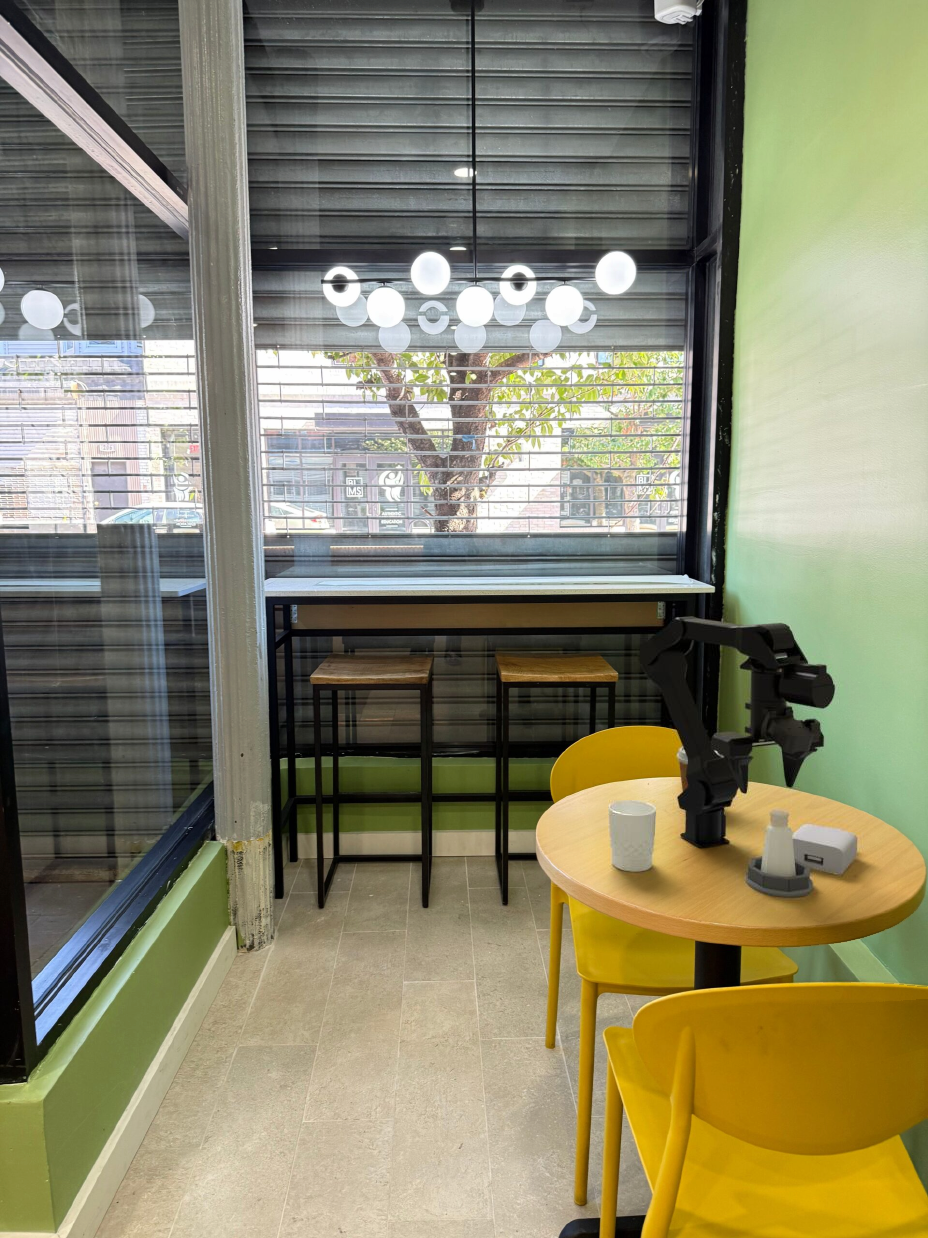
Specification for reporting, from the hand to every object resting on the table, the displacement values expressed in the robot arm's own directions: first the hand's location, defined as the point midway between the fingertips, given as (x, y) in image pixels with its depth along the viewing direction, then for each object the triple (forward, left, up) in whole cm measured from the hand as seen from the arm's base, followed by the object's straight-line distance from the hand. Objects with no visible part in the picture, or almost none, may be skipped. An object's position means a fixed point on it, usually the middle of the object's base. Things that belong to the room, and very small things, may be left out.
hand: (766, 790), depth 135 cm
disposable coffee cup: (+7, +29, -13) cm, 33 cm away
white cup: (-21, +8, -13) cm, 26 cm away
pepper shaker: (-3, -7, -12) cm, 14 cm away
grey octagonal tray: (-3, -7, -13) cm, 15 cm away
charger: (+13, 0, -14) cm, 19 cm away
